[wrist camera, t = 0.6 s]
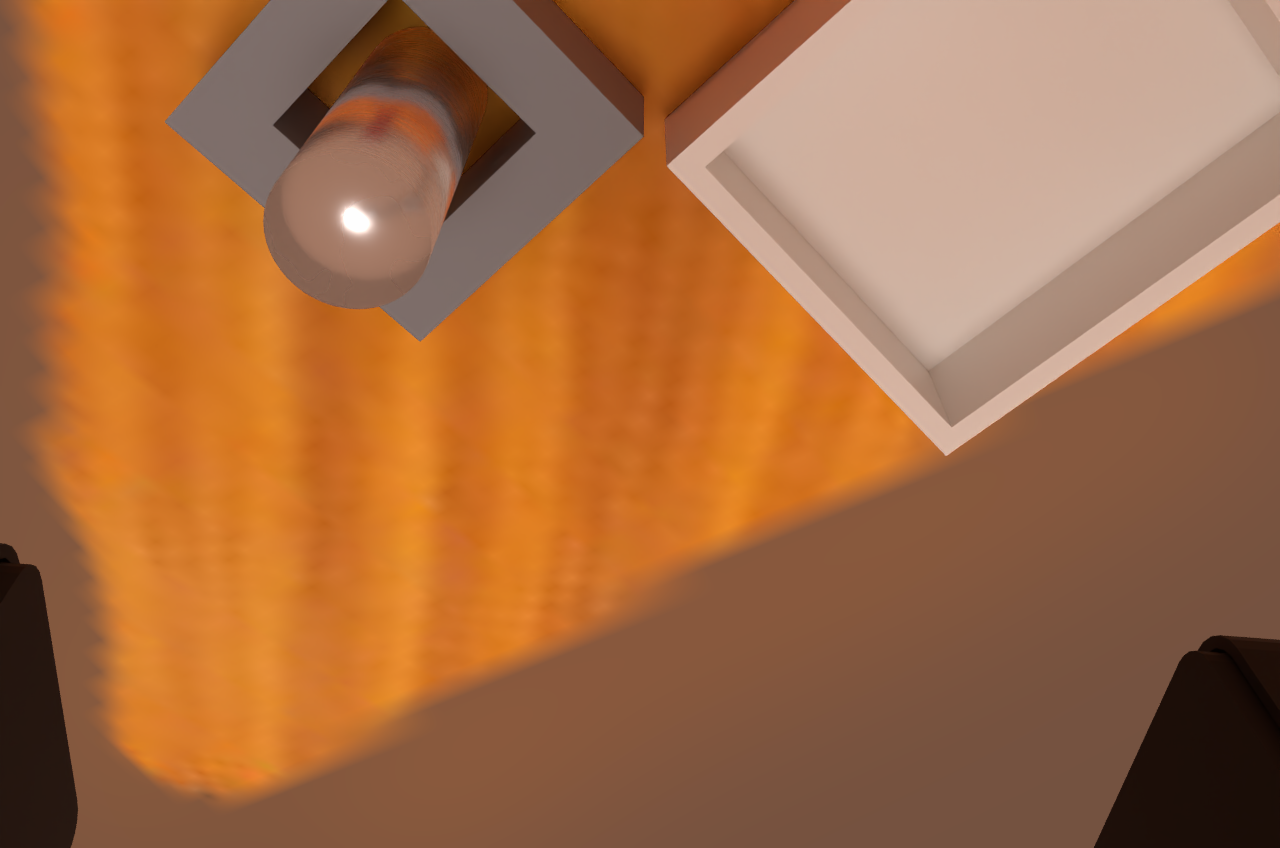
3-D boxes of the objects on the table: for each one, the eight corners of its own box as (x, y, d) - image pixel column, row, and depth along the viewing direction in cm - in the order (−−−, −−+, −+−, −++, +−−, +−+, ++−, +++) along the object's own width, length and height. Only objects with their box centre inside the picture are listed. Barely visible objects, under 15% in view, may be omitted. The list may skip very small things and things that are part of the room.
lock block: (410, -150, 36) (385, -132, 32) (643, 97, 39) (643, 136, 36) (206, 83, 39) (164, 121, 36) (438, 289, 43) (419, 341, 40)
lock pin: (419, 0, 38) (336, 117, 28) (513, 93, 39) (466, 237, 29) (338, 87, 39) (229, 230, 29) (431, 174, 41) (358, 338, 31)
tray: (1084, -266, 34) (1140, -260, 30) (1321, 96, 39) (1394, 141, 35) (665, 119, 40) (667, 165, 36) (920, 390, 45) (946, 456, 41)
